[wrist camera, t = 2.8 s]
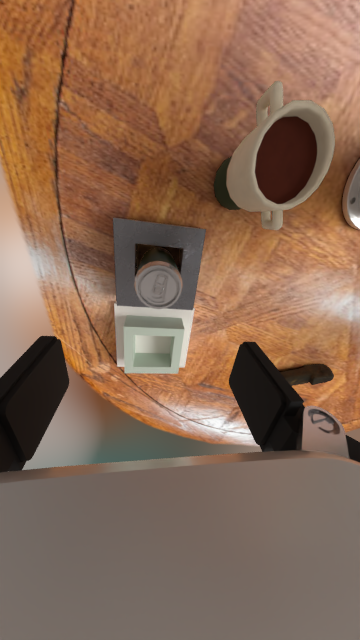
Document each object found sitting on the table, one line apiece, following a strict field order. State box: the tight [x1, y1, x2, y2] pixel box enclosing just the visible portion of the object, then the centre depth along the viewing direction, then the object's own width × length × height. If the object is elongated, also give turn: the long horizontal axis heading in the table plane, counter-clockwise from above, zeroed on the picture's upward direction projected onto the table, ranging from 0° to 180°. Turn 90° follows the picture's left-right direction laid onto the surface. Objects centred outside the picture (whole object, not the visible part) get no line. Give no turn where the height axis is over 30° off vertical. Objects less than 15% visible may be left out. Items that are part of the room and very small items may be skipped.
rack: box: [114, 301, 195, 373], centre depth 35 cm, size 14×14×5 cm
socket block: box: [113, 218, 206, 310], centre depth 29 cm, size 12×12×4 cm
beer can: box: [134, 247, 183, 309], centre depth 25 cm, size 5×5×12 cm
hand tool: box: [280, 364, 334, 386], centre depth 45 cm, size 19×4×5 cm, turn 97°
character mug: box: [214, 81, 335, 230], centre depth 21 cm, size 11×7×13 cm, turn 15°
